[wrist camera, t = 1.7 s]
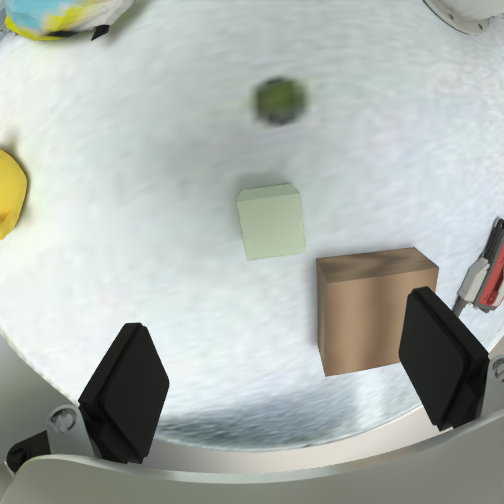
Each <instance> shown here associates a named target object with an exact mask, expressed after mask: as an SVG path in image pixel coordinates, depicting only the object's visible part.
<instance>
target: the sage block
mask: <svg viewBox="0 0 504 504" xmlns="http://www.w3.org/2000/svg"><path fill="white" fill-rule="evenodd" d="M237 208H238V214H239V219H240V225H241V231H242V236H243V242H244V248H245V253H246V259H247V261H249V260H256V259H264V258H271V257H278V256H286V255H293V254H300V253H306V243H305V233H304V223H303V214H302V206H301V197H300V193H299V191H298V190H297V189H296V188H295V186H294V185H293V184H292V183H289V184H281V185H274V186H267V187H260V188H253V189H246V190H241V192H240V195H239V197H238V200H237Z"/></svg>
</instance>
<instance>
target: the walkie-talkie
mask: <svg viewBox="0 0 504 504" xmlns="http://www.w3.org/2000/svg"><path fill="white" fill-rule="evenodd" d="M501 224H502V227H501ZM458 295H460V296H461V297H460V300H459V302H458V305H457V307H456V309H455V311H454V314H455V315H456V316H457V317H459V315H460V313H461V311H462V310H463V308H465V306H466V304H469V305H471V303H472V304H473V305H474V306H473V308H475V309H478V308H480V310H482V311H483V312H485V313H488V312H489V310H493V311H494V310H495V309H496V308H497V307H498V306H499V305H500V304H501V303H502V300H503V298H504V220H503V219H500V220H499V221H498V223H497V225H496V227H495V228H493V232H492V235H491V238H490V239H489V243H488V246H487V249H486V250H485V253H484V256H483V257H482V256H481V258H479V259H478V260H477V261H476V262H475V263H474V264H473V265H472V266H471V267H470V269H469V271H468V273H467V275H466V278H465V280H464V282H463V284H462V286H461V288H460V289H459V291H458Z"/></svg>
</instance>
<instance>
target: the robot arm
mask: <svg viewBox="0 0 504 504" xmlns="http://www.w3.org/2000/svg"><path fill="white" fill-rule="evenodd" d="M424 1H425V2H426V3H427V4H428V6H429V7H430V8H431V9H432V10H433V11H434V12H435V13H436V14H437V15H438V16H439V17H441V18H442V19H443V20H444V21H445V22H447V23H448V24H449V25H451V26H452V27H454V28H456V29H457V30H459V31H461V32H464V33H467V34H471V35H475V34H479V33H483V32H484V31H485V30H486V29H487V28H488V24H489V17H491V16H495V17H498V16H499V17H500V18H502V19H504V0H424ZM488 354H489V353H488V352H487V350H486V349H485V348H484V347H483V346H482V344H481V343H480V342H479V341H478V340H477V339H476V337H475V336H474V335H473V334H472V333H471V332H470V331H469V329H468V328H467V327H466V326H465V325H464V324H463V323H462V322H461V320H460V319H459V318H458V317H457V316H456V315H455V314H454V313H453V312H452V311H451V310H450V309H449V308H448V306H447V305H446V304H445V303H444V302H443V301H442V300H441V299H440V298H439V297H438V296H437V295H436V294H435V293H434V292H433V291H432V290H431V289H430V288H429V287H428V286H424V287H419V288H414V289H413V290H412V291H411V293H410V294H408V296H407V302H406V310H405V317H404V323H403V329H402V335H401V340H400V346H399V351H398V355H399V359H400V361H401V363H402V365H403V367H404V369H405V371H406V373H407V375H408V376H409V378H410V380H411V382H412V384H413V386H414V388H415V390H416V392H417V394H418V396H419V398H420V400H421V402H422V404H423V406H424V408H425V410H426V412H427V414H428V416H429V418H430V421H431V423H432V424H433V425H437V427H438V429H439V431H443V430H445V429H447V428H450V427H453V430H450V431H448V432H445V433H443V434H440V435H438V436H435V437H432V438H430V439H427V440H424V441H421V442H419V443H415V444H413V445H410V446H407V447H403V448H400V449H397V450H394V451H390V452H387V453H383V454H380V455H376V456H372V457H368V458H364V459H359V460H355V461H350V462H346V463H340V464H335V465H330V466H324V467H317V468H310V469H304V470H294V471H285V472H272V473H253V474H211V473H210V474H209V473H192V472H180V471H169V470H161V469H154V468H147V467H140V466H134V465H128V464H127V463H128V462H132V463H137V464H142V462H143V458H144V457H147V455H148V453H149V450H150V447H151V443H152V440H153V437H154V434H155V430H156V427H157V424H158V421H159V417H160V414H161V411H162V408H163V405H164V402H165V398H166V395H167V392H168V389H169V378H168V376H167V374H166V372H165V369H164V367H163V365H162V363H161V360H160V358H159V356H158V353H157V351H156V348H155V346H154V344H153V341H152V339H151V336H150V334H149V331H148V329H147V327H145V326H143V325H142V324H141V323H126V324H125V325H124V326H123V327H122V329H121V331H120V332H119V334H118V335H117V337H116V338H115V340H114V341H113V343H112V345H111V346H110V348H109V349H108V351H107V353H106V354H105V356H104V357H103V359H102V361H101V362H100V364H99V365H98V367H97V369H96V370H95V372H94V374H93V375H92V377H91V379H90V380H89V382H88V384H87V385H86V387H85V389H84V391H83V392H82V394H81V396H80V398H79V399H78V402H79V403H80V406H79V408H77V407H76V406H73V405H63V406H60V407H58V408H56V409H55V410H54V411H53V412H51V414H50V415H49V417H48V419H47V421H46V429H47V430H45V431H43V432H41V433H39V434H37V435H35V436H32V437H30V438H28V439H26V440H23V441H21V442H19V443H17V444H15V445H14V446H13V447H12V448H11V449H10V450H9V452H8V455H7V463H6V462H4V461H3V462H2V463H1V464H0V504H504V355H498V356H495V357H494V358H493V359H492V360H491V361H490V359H489V358H488Z"/></svg>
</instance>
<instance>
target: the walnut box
mask: <svg viewBox="0 0 504 504" xmlns="http://www.w3.org/2000/svg"><path fill="white" fill-rule="evenodd" d="M438 271H439V267H438V266H437V265H436V264H434V263H433V262H432V261H431V260H430V259H428V258H427V257H426V256H425V255H423V254H422V253H421V252H420V251H418V250H417V249H416V248H415V247H413V248H404V249H396V250H388V251H379V252H371V253H362V254H353V255H344V256H336V257H327V258H317V291H318V348H319V352H320V356H321V361H322V365H323V369H324V373H325V377H326V376H333V375H339V374H345V373H351V372H357V371H362V370H367V369H372V368H377V367H382V366H386V365H391V364H395V363H399V362H401V361H400V359H399V355H398V351H399V346H400V340H401V335H402V329H403V323H404V317H405V310H406V302H407V296H408V294H410V293H411V291H412V290H413V289H414V288H419V287H424V286H428V287H429V288H430V289H431V290H432V291H433V292H434V293H435V289H436V284H437V278H438Z"/></svg>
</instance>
